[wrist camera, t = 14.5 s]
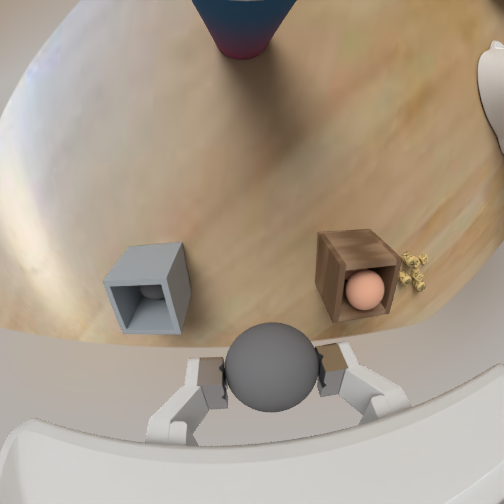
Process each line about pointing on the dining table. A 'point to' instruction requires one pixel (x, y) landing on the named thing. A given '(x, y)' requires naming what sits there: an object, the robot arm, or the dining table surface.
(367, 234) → the walnut tube
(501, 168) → the dining table surface
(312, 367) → the charcoal ball
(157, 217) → the dining table surface
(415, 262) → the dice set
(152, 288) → the charcoal ball
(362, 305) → the terracotta ball
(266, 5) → the cup
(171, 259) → the grey square open box
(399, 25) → the dining table surface
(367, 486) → the robot arm
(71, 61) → the dining table surface
